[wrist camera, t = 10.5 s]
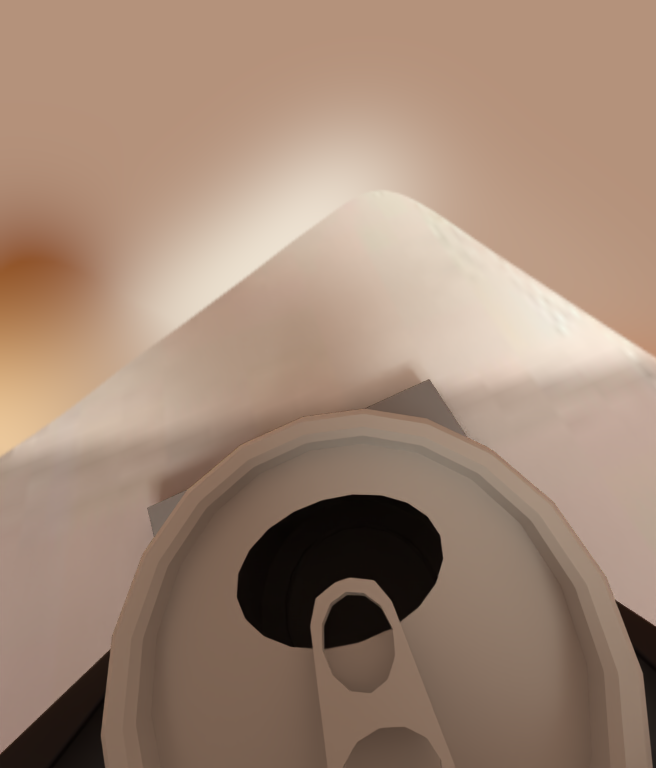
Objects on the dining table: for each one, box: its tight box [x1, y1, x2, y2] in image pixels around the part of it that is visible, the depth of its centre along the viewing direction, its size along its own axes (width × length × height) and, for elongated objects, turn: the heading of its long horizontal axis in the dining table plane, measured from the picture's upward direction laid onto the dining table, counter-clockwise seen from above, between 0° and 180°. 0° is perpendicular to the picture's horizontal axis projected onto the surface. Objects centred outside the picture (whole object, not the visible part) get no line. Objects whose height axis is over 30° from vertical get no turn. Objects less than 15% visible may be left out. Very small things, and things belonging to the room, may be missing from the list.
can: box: [101, 409, 653, 768], centre depth 10 cm, size 8×8×12 cm
